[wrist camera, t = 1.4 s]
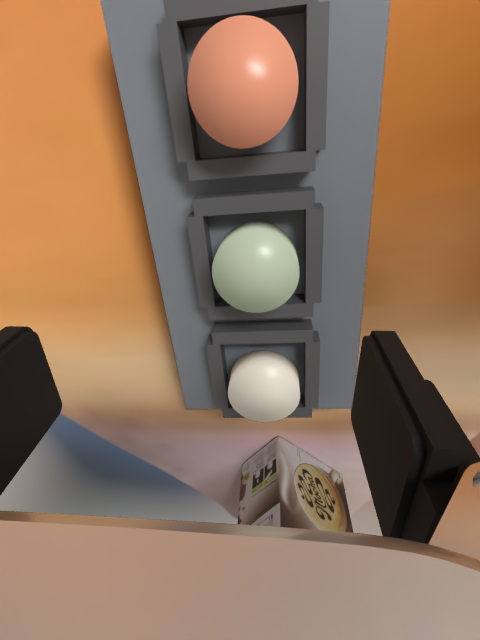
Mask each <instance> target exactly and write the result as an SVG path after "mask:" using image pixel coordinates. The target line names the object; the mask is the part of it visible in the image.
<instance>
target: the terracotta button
mask: <svg viewBox="0 0 480 640" xmlns="http://www.w3.org/2000/svg"><path fill="white" fill-rule="evenodd" d="M298 83H299V79H298V69H297V63H296V60H295V56H294V54H293V51H292V49H291V47H290V45H289V43H288V42H287V40H286V38H285V37H284V36H283V35H282V33H281V32H280V31H279V30H278V29H277V28H276V27H274V26H273V25H272V24H270V23H269V22H267V21H265V20H263V19H261V18H258V17H254V16H248V15H238V16H233V17H229V18H226V19H224V20H222V21H220V22H218V23H217V24H215V25H214V26H213V27H211V28H210V29H209V30H208V31H207V32H206V33H205V34H204V35H203V37H202V38H201V39H200V41H199V42H198V44H197V46H196V48H195V50H194V52H193V55H192V57H191V61H190V64H189V69H188V79H187V86H188V96H189V101H190V104H191V108H192V110H193V113H194V115H195V117H196V119H197V121H198V122H199V124H200V125H201V127H202V128H203V129H204V130H205V132H206V133H207V134H208V135H209V136H211V137H212V138H213V139H214V140H216V141H218V142H219V143H221V144H223V145H226V146H229V147H232V148H239V149H243V148H252V147H256V146H259V145H261V144H264V143H266V142H267V141H269V140H270V139H272V138H273V137H274V136H275V135H277V134H278V133H279V132H280V131H281V129H282V128H283V127H284V126H285V124H286V123H287V121H288V119H289V118H290V116H291V114H292V111H293V109H294V106H295V103H296V99H297V94H298Z"/></svg>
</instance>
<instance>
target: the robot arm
mask: <svg viewBox="0 0 480 640" xmlns="http://www.w3.org/2000/svg"><path fill="white" fill-rule="evenodd" d="M61 408H62V402H61V399H60V396H59V393H58V390H57V387H56V385H55V382H54V379H53V376H52V373H51V370H50V368H49V365H48V362H47V359H46V356H45V353H44V351H43V348H42V345H41V342H40V339H39V337H38V335H37V333H36V332H33V330H32V329H31V328H29V327H13V326H9V327H5V328H3V329H2V330H1V331H0V495H1V494H2V492H3V491H4V490H5V488H6V487H7V485H8V484H9V483H10V481H11V480H12V479H13V477H14V476H15V475H16V473H17V472H18V470H19V469H20V468H21V466H22V465H23V464H24V462H25V461H26V459H27V458H28V457H29V455H30V454H31V452H32V451H33V450H34V448H35V447H36V446H37V444H38V443H39V441H40V440H41V439H42V437H43V436H44V435H45V433H46V432H47V431H48V429H49V428H50V426H51V425H52V424H53V422H54V421H55V420H56V418H57V417H58V415H59V414H60V412H61ZM351 420H352V425H353V429H354V433H355V436H356V440H357V444H358V447H359V451H360V455H361V458H362V462H363V466H364V469H365V473H366V477H367V480H368V484H369V488H370V491H371V495H372V498H373V502H374V506H375V509H376V513H377V517H378V520H379V524H380V528H381V531H382V535H383V536H376V535H368V534H360V533H349V532H337V531H324V530H311V529H299V528H286V527H272V526H256V525H240V524H223V523H206V522H191V521H175V520H157V519H139V518H123V517H106V516H87V515H70V514H52V513H33V512H14V511H0V640H480V457H479V456H478V454H477V452H476V451H475V449H474V448H473V446H472V444H471V443H470V441H469V440H468V438H467V436H466V435H465V433H464V432H463V430H462V428H461V427H460V425H459V424H458V422H457V421H456V419H455V417H454V416H453V414H452V413H451V411H450V409H449V408H448V406H447V405H446V403H445V401H444V400H443V398H442V397H441V395H440V394H439V392H438V390H437V389H436V387H435V386H434V384H433V383H432V382H431V381H429V380H424V379H423V377H422V375H421V374H420V372H419V370H418V369H417V367H416V365H415V364H414V362H413V360H412V359H411V357H410V355H409V354H408V352H407V350H406V349H405V347H404V345H403V344H402V342H401V340H400V339H399V337H398V335H397V334H396V333H395V331H372V332H371V334H370V336H364V338H363V341H362V347H361V353H360V359H359V366H358V372H357V378H356V384H355V391H354V397H353V403H352V409H351Z"/></svg>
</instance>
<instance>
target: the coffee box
mask: <svg viewBox="0 0 480 640" xmlns="http://www.w3.org/2000/svg"><path fill="white" fill-rule="evenodd" d="M238 524H240V525H256V526H272V527H286V528H299V529H311V530H324V531H337V532H349V533H353V529H352V524H351V519H350V514H349V509H348V504H347V499H346V494H345V489H344V484H343V479H342V475H341V474H340V473H338V472H336V471H335V470H333V469H332V468H330V467H328V466H327V465H325V464H323V463H322V462H320V461H318V460H317V459H315V458H314V457H312V456H310V455H309V454H307V453H305V452H304V451H302V450H300V449H299V448H297V447H295V446H294V445H292V444H290V443H289V442H287V441H286V440H284V439H282V438H281V437H279V436H278V437H276V438H275V439H274V440H272V441H271V442H270V443H269V444H267V445H266V446H265V447H264V448H262V449H261V450H260V451H259V452H257V453H256V454H255V455H254V456H252V457H251V458H250V459H249V460H247V461H246V462H245V463H244V464H243V466H242V478H241V490H240V502H239V513H238Z"/></svg>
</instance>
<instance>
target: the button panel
mask: <svg viewBox="0 0 480 640" xmlns="http://www.w3.org/2000/svg"><path fill="white" fill-rule="evenodd" d="M101 6H102V11H103V15H104V20H105V25H106V30H107V34H108V39H109V44H110V49H111V54H112V58H113V63H114V68H115V73H116V77H117V82H118V87H119V92H120V96H121V101H122V106H123V111H124V115H125V120H126V125H127V130H128V134H129V139H130V144H131V149H132V154H133V158H134V163H135V168H136V173H137V177H138V182H139V187H140V192H141V196H142V201H143V206H144V211H145V215H146V220H147V225H148V230H149V234H150V239H151V244H152V249H153V253H154V258H155V263H156V268H157V273H158V277H159V282H160V287H161V292H162V296H163V301H164V306H165V311H166V315H167V320H168V325H169V330H170V334H171V339H172V344H173V349H174V353H175V358H176V363H177V368H178V373H179V377H180V382H181V387H182V392H183V396H184V401H185V406H186V409H222V410H223V417H224V418H245V417H243V416H242V415H240V414H239V413H238V412H236V411H235V410H234V408H233V407H232V405H231V404H230V402H229V398H228V387H229V381H230V376H231V370H232V367H233V365H234V363H235V362H236V361H237V360H238V359H239V358H240V357H241V356H242V355H244V354H246V353H248V352H251V351H254V350H262V349H264V350H273V351H277V352H279V353H281V354H283V355H285V356H287V357H288V358H289V359H290V360H291V361H292V362H293V363H294V365H295V366H296V368H297V371H298V377H299V388H300V400H299V404H298V406H297V407H296V409H295V410H294V411H293V412H292V413H291V414H290V415H288V416H287V417H312V409H352V403H353V397H354V391H355V384H356V375H357V364H358V353H359V342H360V331H361V320H362V309H363V298H364V287H365V276H366V265H367V254H368V243H369V232H370V221H371V209H372V198H373V187H374V176H375V165H376V154H377V143H378V132H379V121H380V110H381V99H382V88H383V77H384V66H385V55H386V44H387V33H388V22H389V11H390V0H101ZM238 15H248V16H254V17H258V18H261V19H263V20H265V21H267V22H269V23H270V24H272V25H273V26H274V27H276V28H277V29H278V30H279V31H280V32H281V33H282V35H283V36H284V37H285V38H286V40H287V42H288V43H289V45H290V47H291V49H292V51H293V54H294V56H295V60H296V63H297V69H298V79H299V83H298V94H297V99H296V103H295V106H294V109H293V111H292V114H291V116H290V118H289V119H288V121H287V123H286V124H285V126H284V127H283V128H282V129H281V131H280V132H279V133H278V134H277V135H275V136H274V137H273V138H272V139H270V140H269V141H267V142H266V143H264V144H261V145H259V146H256V147H252V148H243V149H239V148H232V147H229V146H226V145H223V144H221V143H219V142H218V141H216V140H214V139H213V138H212V137H211V136H209V135H208V134H207V133H206V132H205V130H204V129H203V128H202V127H201V125H200V124H199V122H198V121H197V119H196V117H195V115H194V113H193V110H192V108H191V104H190V101H189V96H188V86H187V79H188V69H189V64H190V61H191V57H192V55H193V52H194V50H195V48H196V46H197V44H198V42H199V41H200V39H201V38H202V37H203V35H204V34H205V33H206V32H207V31H208V30H209V29H210V28H211V27H213V26H214V25H215V24H217V23H218V22H220V21H222V20H224V19H226V18H229V17H233V16H238ZM248 222H266V223H270V224H272V225H275V226H277V227H278V228H280V229H282V230H283V231H284V232H285V233H286V234H287V235H288V236H289V237H290V239H291V240H292V242H293V244H294V246H295V248H296V252H297V257H298V263H299V271H300V273H299V281H298V284H297V287H296V289H295V291H294V293H293V294H292V296H291V297H290V298H289V299H288V300H287V301H286V302H285V303H284V304H283V305H281V306H279V307H278V308H276V309H274V310H271V311H267V312H262V313H251V312H245V311H242V310H239V309H237V308H235V307H233V306H231V305H230V304H228V303H227V302H226V301H225V300H224V299H223V298H222V297H221V296H220V294H219V293H218V291H217V290H216V288H215V285H214V282H213V278H212V265H213V260H214V257H215V255H216V253H217V250H218V248H219V246H220V244H221V242H222V240H223V239H224V237H225V236H226V235H227V234H228V233H229V232H230V231H231V230H232V229H234V228H235V227H237V226H239V225H241V224H244V223H248Z"/></svg>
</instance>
